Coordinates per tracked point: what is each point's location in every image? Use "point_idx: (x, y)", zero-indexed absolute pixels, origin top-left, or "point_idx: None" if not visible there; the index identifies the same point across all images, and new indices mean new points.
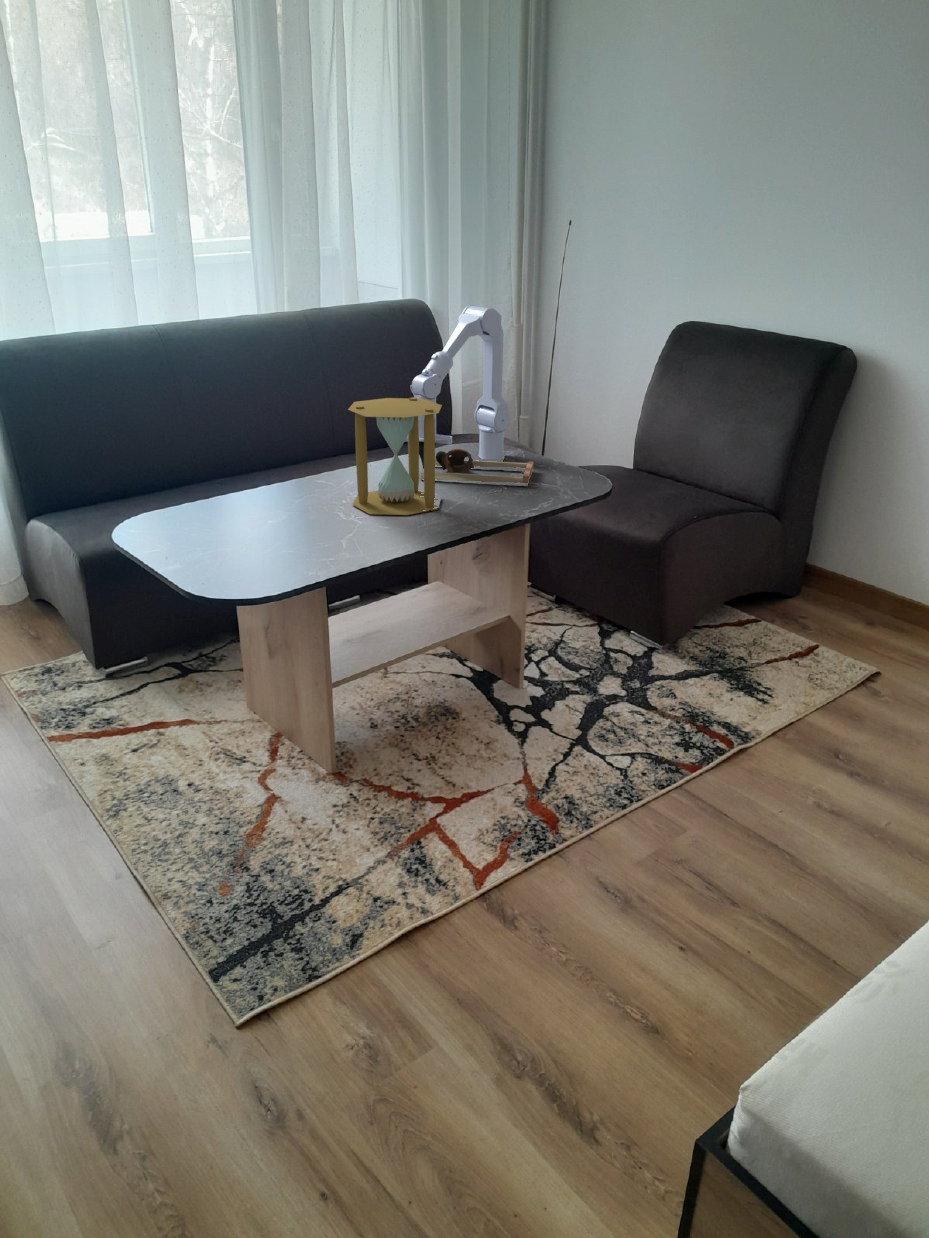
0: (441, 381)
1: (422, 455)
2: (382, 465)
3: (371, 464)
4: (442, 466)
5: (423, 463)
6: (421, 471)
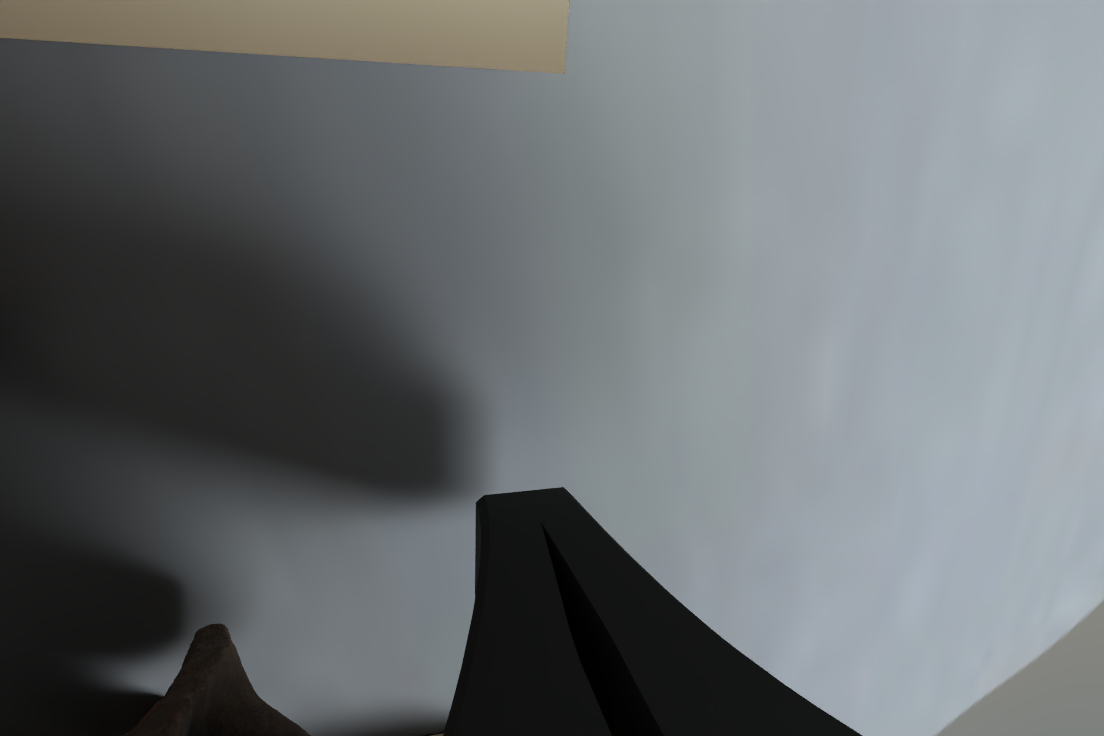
0: None
1: (693, 695)
2: (1009, 606)
3: (1097, 599)
4: (207, 668)
5: (589, 544)
6: (561, 41)
